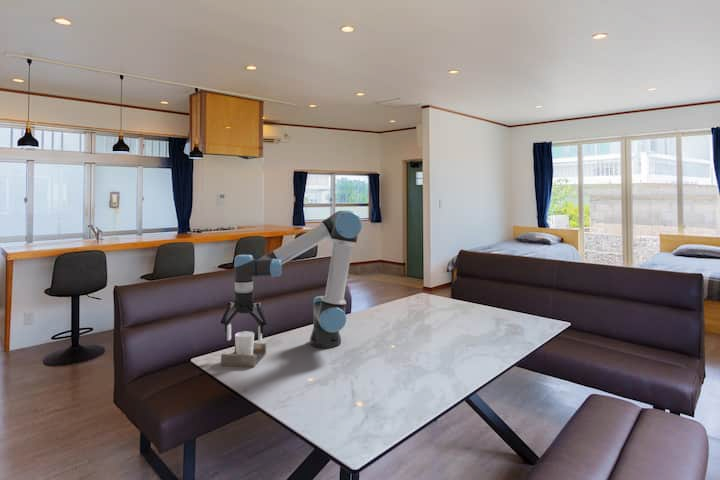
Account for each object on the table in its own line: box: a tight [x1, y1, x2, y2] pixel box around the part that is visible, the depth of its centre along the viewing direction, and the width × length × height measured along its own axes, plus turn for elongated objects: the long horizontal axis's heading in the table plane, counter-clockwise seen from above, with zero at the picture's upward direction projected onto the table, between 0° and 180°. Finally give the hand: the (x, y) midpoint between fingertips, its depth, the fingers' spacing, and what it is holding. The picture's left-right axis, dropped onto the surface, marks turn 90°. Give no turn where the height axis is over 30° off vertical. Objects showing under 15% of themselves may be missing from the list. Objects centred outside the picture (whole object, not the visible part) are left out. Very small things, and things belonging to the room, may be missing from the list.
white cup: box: [234, 330, 255, 355], centre depth 174 cm, size 8×8×10 cm
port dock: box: [220, 342, 267, 368], centre depth 175 cm, size 14×16×4 cm
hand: (244, 340), depth 174 cm, fingers open, 13 cm apart
